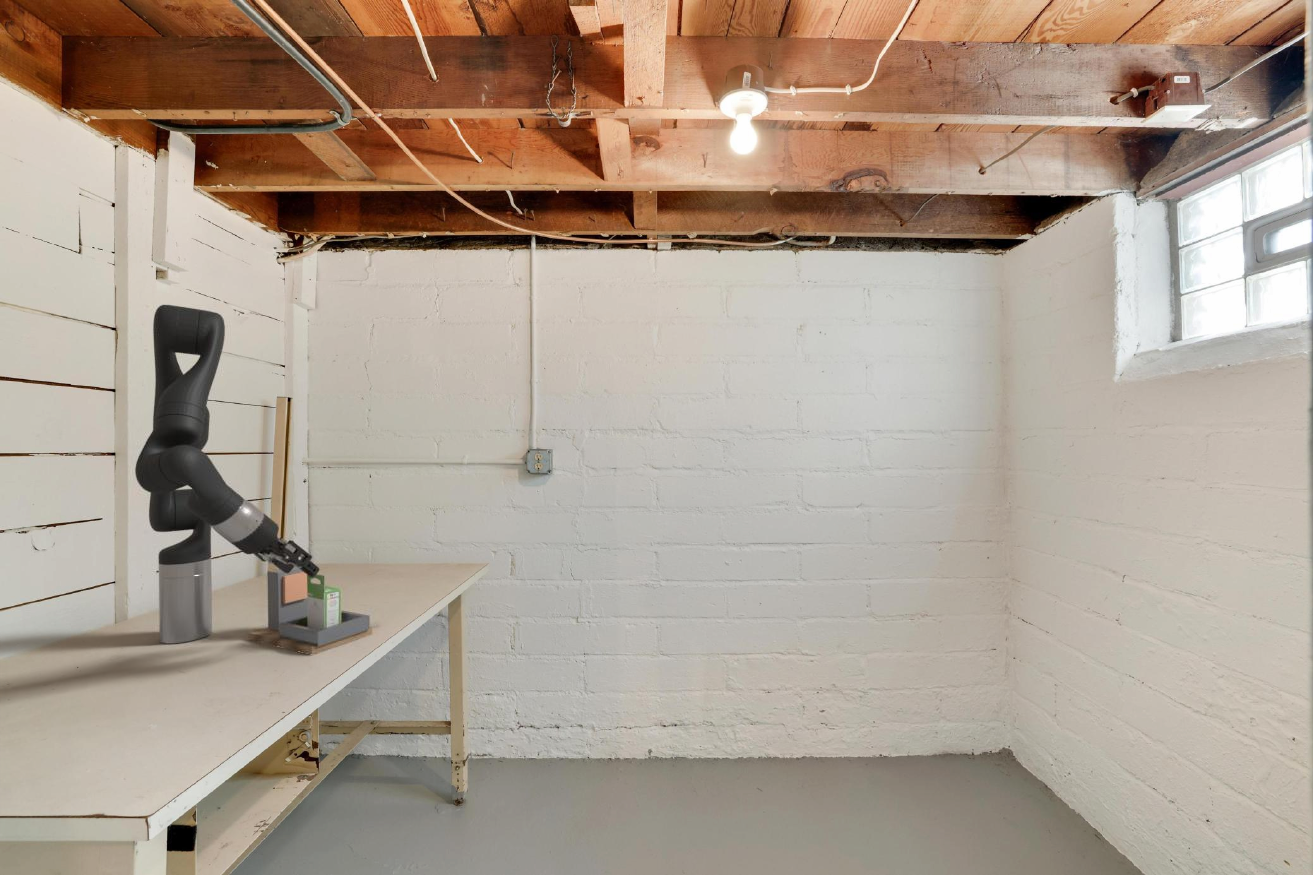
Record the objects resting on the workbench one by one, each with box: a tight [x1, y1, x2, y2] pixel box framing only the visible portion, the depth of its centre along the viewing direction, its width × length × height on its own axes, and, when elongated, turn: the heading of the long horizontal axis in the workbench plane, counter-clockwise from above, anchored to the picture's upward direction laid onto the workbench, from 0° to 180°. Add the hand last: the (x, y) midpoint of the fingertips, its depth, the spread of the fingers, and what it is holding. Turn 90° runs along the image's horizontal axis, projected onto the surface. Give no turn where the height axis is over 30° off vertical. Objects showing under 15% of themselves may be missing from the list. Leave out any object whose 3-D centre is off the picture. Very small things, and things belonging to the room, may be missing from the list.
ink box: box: [307, 573, 342, 630], centre depth 128 cm, size 7×4×13 cm, turn 58°
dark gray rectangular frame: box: [280, 609, 371, 646], centre depth 129 cm, size 19×12×3 cm, turn 64°
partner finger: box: [267, 566, 308, 631], centre depth 133 cm, size 5×7×13 cm
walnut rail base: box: [248, 626, 373, 655], centre depth 130 cm, size 22×14×2 cm, turn 64°
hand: (303, 571), depth 123 cm, fingers open, 8 cm apart
